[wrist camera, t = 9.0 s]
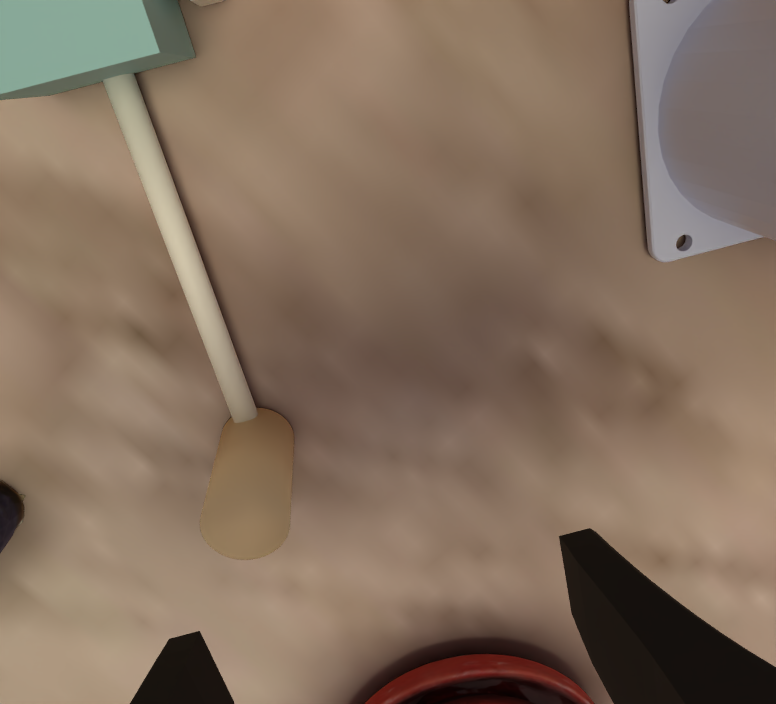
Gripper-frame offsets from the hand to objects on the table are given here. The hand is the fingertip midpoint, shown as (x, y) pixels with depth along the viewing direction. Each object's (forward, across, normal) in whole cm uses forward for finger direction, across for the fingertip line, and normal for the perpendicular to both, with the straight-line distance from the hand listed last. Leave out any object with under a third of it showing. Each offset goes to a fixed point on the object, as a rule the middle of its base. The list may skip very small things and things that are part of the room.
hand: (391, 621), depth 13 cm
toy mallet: (+10, +4, -7) cm, 12 cm away
